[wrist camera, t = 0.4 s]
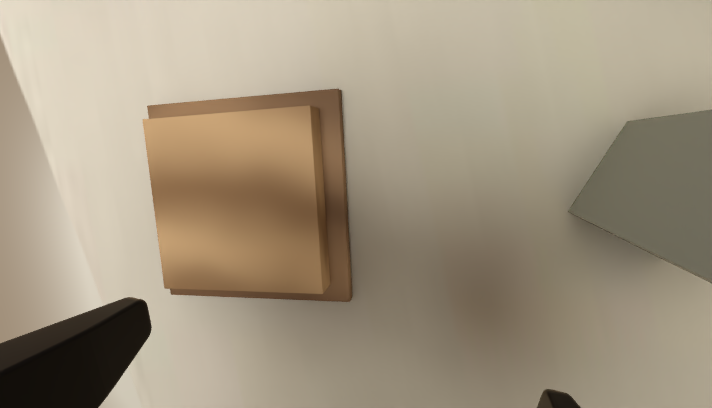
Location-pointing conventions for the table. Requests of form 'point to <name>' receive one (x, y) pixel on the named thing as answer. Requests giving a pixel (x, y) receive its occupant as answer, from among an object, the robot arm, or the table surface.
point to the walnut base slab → (332, 173)
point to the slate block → (657, 189)
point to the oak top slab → (240, 200)
